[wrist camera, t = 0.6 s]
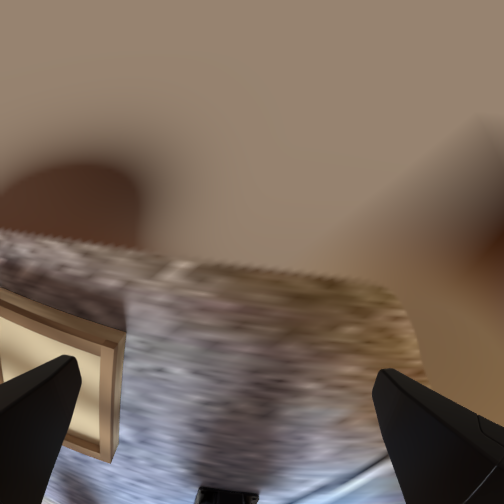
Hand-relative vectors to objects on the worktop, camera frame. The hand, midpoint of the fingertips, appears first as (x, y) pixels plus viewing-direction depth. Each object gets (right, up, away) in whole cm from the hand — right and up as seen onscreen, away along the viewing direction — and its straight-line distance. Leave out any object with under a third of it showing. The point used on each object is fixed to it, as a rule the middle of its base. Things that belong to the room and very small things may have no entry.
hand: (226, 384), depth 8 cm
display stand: (-17, -7, +15) cm, 24 cm away
